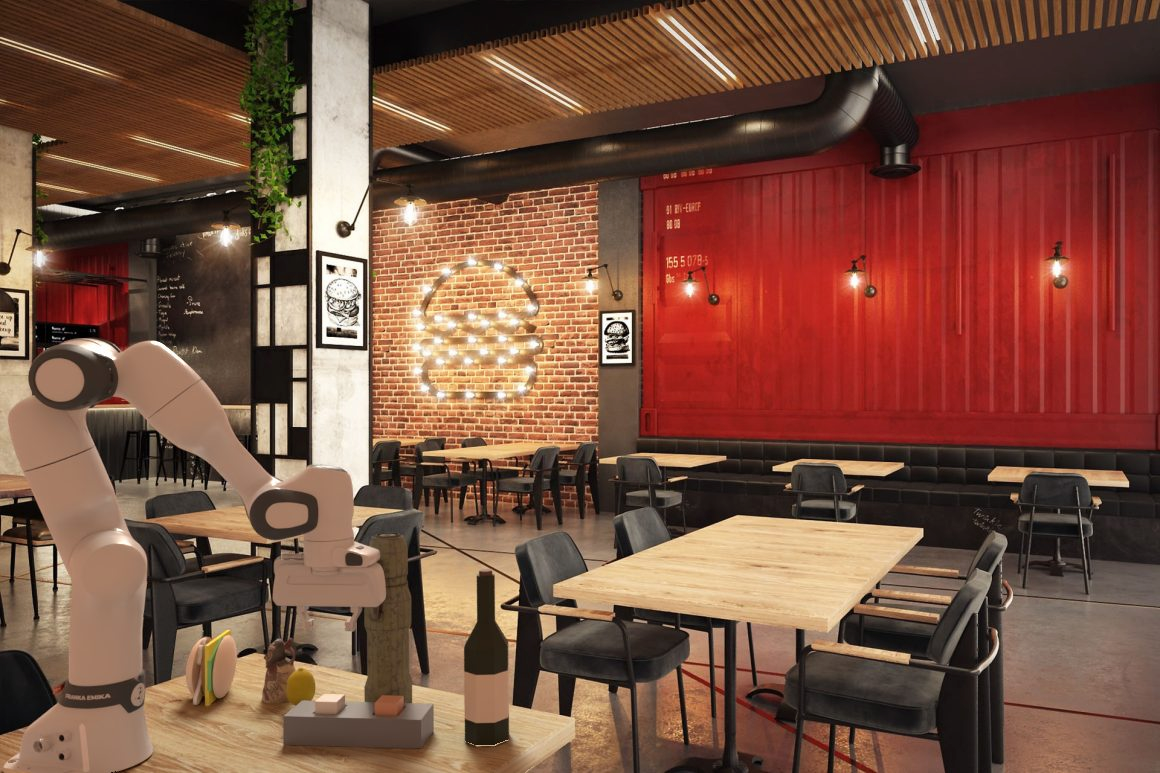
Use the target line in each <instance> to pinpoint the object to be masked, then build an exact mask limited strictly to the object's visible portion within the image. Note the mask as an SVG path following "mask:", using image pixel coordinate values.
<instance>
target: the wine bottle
mask: <svg viewBox="0 0 1160 773" xmlns="http://www.w3.org/2000/svg"><path fill="white" fill-rule="evenodd" d="M495 576H496V575H495V573H493V569H492V568H481V569H479V570H478V573H476V623H475V625H474V627H473V628H472V630H471V632H470V634H469V636H468V638H467V639H466V641H465V644H464V646H463V682H464V683H463V686H464V691H463V694H464V703H463V704H464V742H465V741H466V742H469V743H472V744H474V745H495V744H497V743H500V742H503V741H505V740H508V739H510V687H509V685H510V683H509V682H510V680H509V679H510V678H509V676H510V675H509V674H510V673H509V671H510V670H509V663H510V662H509V640H508V639H507V637H506V636H505V634H504V632H503V630H502V629H501V627H500V626H499V624H498V623H497V621H496V587H495V586H496V583H495V582H496V581H495V580H496V578H495Z"/></svg>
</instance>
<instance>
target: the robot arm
mask: <svg viewBox="0 0 1160 773" xmlns="http://www.w3.org/2000/svg"><path fill="white" fill-rule="evenodd" d="M27 377H28V378H27V379H28V385H29V389H30V391H31V393H32V394H33V395H30V396H28V397H24V399H22V400H20V401H19V402H17V403H16V404H15V405H14V406H13V407H12V408H11V410H10V411H9V412H8V415H7V424H8V428H9V429H8V431H9V434H10V437H11V441H12V445H13V450H14V452H15V455H16V458H17V461H18V464H19V466H20V467H21V470H22V472H23V475H24V477H25V479H26V482H27V484H28V486H29V489H30V490H31V492H32V494H33V496H34V499H35V501H36V504H37V506H38V508H39V510H40V513H41V514H42V517H43V519H44V522H45V523H46V526H47V528H48V530H49V533H50V535H51V537H52V540H53V542H54V544H55V547H56V549H57V551H58V553H59V555H60V559H61V560H62V563H63V565H64V567H65V569H66V571H67V573H68V576H69V577H70V580H71V594H70V595H71V596H70V597H71V601H70V618H69V628H68V629H69V630H68V679H66V680H64V681H62V682H61V683H60V684H58V685H56V686H55V687H53V688H52V690H54V691H53V692H52V694H53V695H56V694H58V693H60V692H61V693H60V695H59V698H58V701H57V703H56V704H55V705H53V706H52V707H51V708H49V709H48V710H47V711H46V712H45V713H43V714H42V715H41V716H40V717H38V718H37V719H36V720H34V721H33V722H32V723H31V724H30V725H29V726H28V727H27V728H26V729H25V730H24V733H23V735H22V737H21V741H20V747H19V752H18V753H16V754H15V755H14V756H12V757H10V758H9V759H8V760H7V761H6V762H5V763H4V765H3V767H2V769H3V768H5V769H9V770H16V771H23V772H31V773H111V772H113V773H116V772H119V771H123V770H126V769H129V768H132V767H134V766H136V765H138V764H140V763H142V762H144V761H145V760H147V759H148V758H149V757H150V756H152V755H153V753H154V747H153V745H152V741H151V738H150V734H149V730H148V726H147V721H146V713H145V698H146V671H145V669H143V620H144V611H145V606H146V592H147V579H148V557H147V554H146V551H145V550H144V548H143V547H142V545H141V544H140V543H138V542H137V540H135V539H134V537H133V536H132V535H131V532H130V531H129V528H128V526H127V523H126V521H125V517H124V515H123V513H122V509H121V507H120V504H119V501H118V498H117V495H116V493H115V489H114V486H113V484H112V481H111V479H110V477H109V475H108V473H107V470H106V467H105V465H104V463H103V461H102V458H101V456H100V453H99V451H98V449H97V446H96V445H95V443H94V440H93V438H92V436H91V433H90V431H89V429H88V425H87V416H86V415H87V413H88V410H89V409H92V408H94V407H95V406H97V405H98V404H100V403H101V402H103V401H106V400H110V399H111V398H113V397H116V398H121V399H123V400H125V401H127V402H128V403H130V405H132V407H133V408H134V409H135V410H137V412H138V413H140V415H141V416H142V417H143V418H144V419H145V420H146V421H147V422H148V423H149V424H150V425H151V426H152V428H153V429H155V431H157V432H158V433H159V434H160V435H161V436H163V438H165V439H166V440H167V441H169V442H170V443H172V444H173V445H174V446H176V447H177V448H179V449H181V450H183V451H186V452H189V453H191V454H193V455H195V456H198V457H200V458H201V459H202V460H204V461H206V462H207V463H208V464H209V465H211V467H212V468H213V469H214V470H216V472H218V474H219V475H220V476H221V477H222V478H223V479H224V480H225V481H226V482H227V484H229V485H230V486H231V487H232V489H233V490H234V491H235V492H236V493H237V494H238V495H239V497H240V499H241V501H242V503H243V506H244V510H245V514H246V516H247V519H248V521H249V524H250V525H251V528H252V529H253V530H254V532H255V533H256V534H257V535H259V536H260V537H262V538H264V539H266V540H270V541H277V542H278V541H283V540H287V539H291V538H294V537H298V536H302V535H303V553H281V555H279V556H278V557H276V558H275V559H274V562H273V573H274V581H273V588H272V601H273V602H274V604H275V605H276V606H279V607H280V606H281V607H287V606H288V607H296V613H297V615H298V616H299V618H300V620H301V622H302V630H303V631H308V632H309V631H310V632H311V631H313V630H315V626H316V625H315V618H311V617H310V615H309V614H308V612H307V611H308V610H309V609H310V608H309V607H334V608H335V607H342V608H343V607H345V608H347V607H348V608H349V607H350V613H352V616H351V618H350V619H347V620H345V621H344V626H345V627H344V631H345V632H355V631H356V630H357V620H358V618H359V616H360V615H361V613H362V611H363V608H364V607H377V606H379V605H380V604H382V603H383V601H384V600H385V598H386V585H385V576H384V571H383V568H382V567H381V565H380V564H378V563H377V561H378V560H379V559H380V551H379V550H378V549H375V548H372V547H369V545H367V544H363V543H360V542H357V541H355V533H354V529H353V525H352V522H353V517H354V513H355V504H354V503H355V500H354V489H353V488H354V487H353V482H352V478H351V475H350V474H349V473H348V471H347V470H346V469H344V468H342V467H339V466H335V465H331V464H330V465H329V464H323V463H321V464H319V463H314V464H313V463H312V464H309V465H307V466H306V468H305V469H303V470H301V471H300V472H298V473H296V474H295V475H293V476H291V477H288V478H287V479H285V480H283V479H281V478H278V477H276V476H274V475H272V474H270V473H269V472H268V471H267V470H266V469H265V468H263V466H262V465H261V464H260V462H258V460H256V459H255V457H253V455H252V454H251V453H250V452H249V451H248V450H247V449H246V448H245V446H244V445H243V444H242V443H241V442H240V441H239V439H238V438H237V436H236V434H235V433H234V431H233V429H232V426H231V424H230V421H229V418H228V416H227V413H226V411H225V409H224V408H223V406H222V404H221V402H220V401H219V399H218V397H217V396H216V395H215V393H214V392H213V391H212V389H211V387H209V386H208V384H207V383H206V382H205V381H204V379H202V377H201V376H200V375H199V374H198V373H197V372H196V371H195V370H194V369H193V368H192V367H191V366H190V365H188V364H187V362H185V360H183V359H182V357H180V356H179V355H177V354H176V353H175V352H174V351H173V350H171V349H170V348H168V347H167V346H166V345H165V344H163V343H161V342H160V341H156V340H144V341H140V342H137V343H134V344H132V345H131V346H129V347H127V348H126V349H125V350H123V351H122V350H121V349H120V348H119V347H118V346H116V344H114V343H112V342H110V341H108V340H106V339H103V338H100V337H84V338H73V339H69V340H65V341H63V342H61V343H59V344H55V345H53V346H50V347H48V348H46V349H44V350H43V351H41V353H40V354H38V355H37V356H36V357H35V359H34V360H33V361H32V363H31V364H30V367H29V371H28V376H27ZM10 760H15V761H16V762H13V763H8V761H10ZM30 768H31V769H30ZM115 771H116V772H115Z"/></svg>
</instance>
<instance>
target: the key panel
mask: <svg viewBox="0 0 1160 773" xmlns="http://www.w3.org/2000/svg"><path fill="white" fill-rule="evenodd" d="M315 701H316V700H311V701H305V700H302V701H301V702H300V703H299V704H297V705H296V706H294V707H292V708H291V709H290V710H289V711H288V712H286V713H285V714H284V715H283V717H282V721H283V722H282V724H283V726H282V728H283V729H282V730H283V736H282V738H283V743H282V745H287V746H288V745H289V746H315V747H316V746H317V747H319V746H320V747H351V748H352V747H353V748H354V747H355V748H379V749H380V748H381V749H382V748H384V749H385V748H387V749H412V748H423V747H424V746H425V745H426V743H427V741H428V740H429V739H428V738H430V737H431V736H432V735H433V733H434V732H433V731H434V730H435V728H434V727H435V726H434V724H435V723H434V722H435V721H434V718H435V717H434V716H435V715H434V713H435V712H434V703H425V702H424V703H421V702H420V703H415V702H414V703H413V702H412V703H404V710H403V711H402V712H401V713H400V714H399V716H386V715H375V702H365V701H345V708H344V709H343V710H342V711H341V712H340V713H339V714H315ZM432 732H433V733H432ZM430 735H431V736H430ZM429 736H430V737H429ZM425 742H426V743H425ZM423 745H424V746H423Z"/></svg>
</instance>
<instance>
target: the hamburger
mask: <svg viewBox="0 0 1160 773" xmlns="http://www.w3.org/2000/svg"><path fill="white" fill-rule="evenodd" d="M237 658H238V656H237V645H236V642H235V640H234V638H233V637H232V630H231V629H226V630H225V631H223V632H222V633H221V634H219V635H218V636H214V637H213V636H212V638H211V637H210V636H204V637H202V638H200V639H199V640H198V641H197V642H196V643H195V644H194V646H193V647H192V649H191V650H190V653H189V655H188V658H187V662H186V666H185V682H186V687H187V689H188V691H189V693H190V694H191V695H192V697H193V698H192V705H193V706H199V705H200V702H201V700H202V699H203V695H204V706H205V707H209V706H211V705H212V704H213V703H214V702H215V701H216V700H218V699H222V698H224V697H225V696H226V695H227V693H228V692H229V690H230V688H231V687H232V684H233V681H234V678H235V674H236V671H237V661H238V660H237ZM230 686H231V687H230ZM213 701H214V702H213ZM212 702H213V703H212ZM211 703H212V704H211ZM198 704H199V705H198Z"/></svg>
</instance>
